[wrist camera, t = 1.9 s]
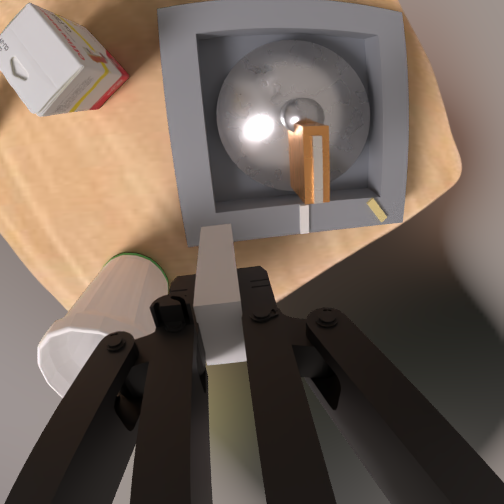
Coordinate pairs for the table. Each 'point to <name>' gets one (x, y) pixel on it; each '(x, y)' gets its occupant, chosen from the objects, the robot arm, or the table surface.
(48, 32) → the ink box
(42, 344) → the cup
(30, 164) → the table surface
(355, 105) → the dial
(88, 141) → the table surface
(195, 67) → the housing
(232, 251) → the robot arm
